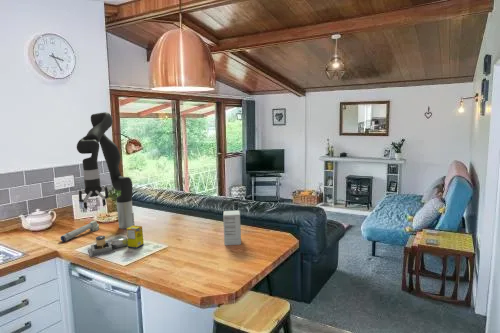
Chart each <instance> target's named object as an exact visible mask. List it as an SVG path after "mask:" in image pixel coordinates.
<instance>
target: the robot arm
mask: <svg viewBox="0 0 500 333" xmlns="http://www.w3.org/2000/svg"><path fill="white" fill-rule="evenodd" d="M90 122H91V126H92V128H91V129H90V130H88V131H87V133H86V135H85V136H83V137H82V138H80V139H79V140H78V141H77V144H76V150H77V152H78V153H79V154H83V155H85V154H86V155H87V154H88V155H90V154H91V155H90V157H85V158H83V159H82V168H83V180H84V189H78V201H79V203H83V208H84V209H85V210H88V203H87V200H88V199H90V198H93V197H98V196H99V197H100V198H101V200H102V206H103V207H105V206H106V205H107V202H106V200H107V199H108V198H110V196H109V189H108V187H107V186H104V187H102V185H101V178H100V177H101V176H100V172H99V165H98V157H99V152H100V149H101V152H102V154H103V157H104V160H105V162H106V166H107V169H108V172H109V173H108V174H109V177H110V181H111V185H112V187H113V189H114V190H115V191H119V192H120V195H118V196H117V197H116V209H117V220H118V228H119V229H121V230H122V229H126V230H127V228H129V227H131V226H133V225H135V213H134V210H133V192H134V191H133V181H132V179H131V177H128V176H122V175H121V172H120V162H121V153H120V150H119V148H118V146H117V144H116V143H114V141H112V140H111V139H110V138H109V137H108V136H107V135H106V134H105V133H106V132H107V131H109V129H110V128H111V127H112V125H113V117H112V115H111V113H110V112H105V111H103V112H98V113H92V114H91V115H90ZM102 191H103V192H104V194H105V195H103V194H102V193H101V192H102ZM84 193H85V196H84V198H83V195H84Z"/></svg>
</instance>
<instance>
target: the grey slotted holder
mask: <svg viewBox="0 0 500 333" xmlns="http://www.w3.org/2000/svg"><path fill="white" fill-rule="evenodd" d="M105 242H106V247H105V248H100V249H97V244H96V243H94V244H90V247H89V248H88V249H87V250H88V253H89V257H90V258H92V257H97V255H98V256H102V254H103V255H107V254H112V253H115V252H116V250H115V249H118V248H123V247H128V240H127V237H124V238H123V237H122V238H118V239H113V240H110V241H105ZM111 252H112V253H111Z"/></svg>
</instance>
